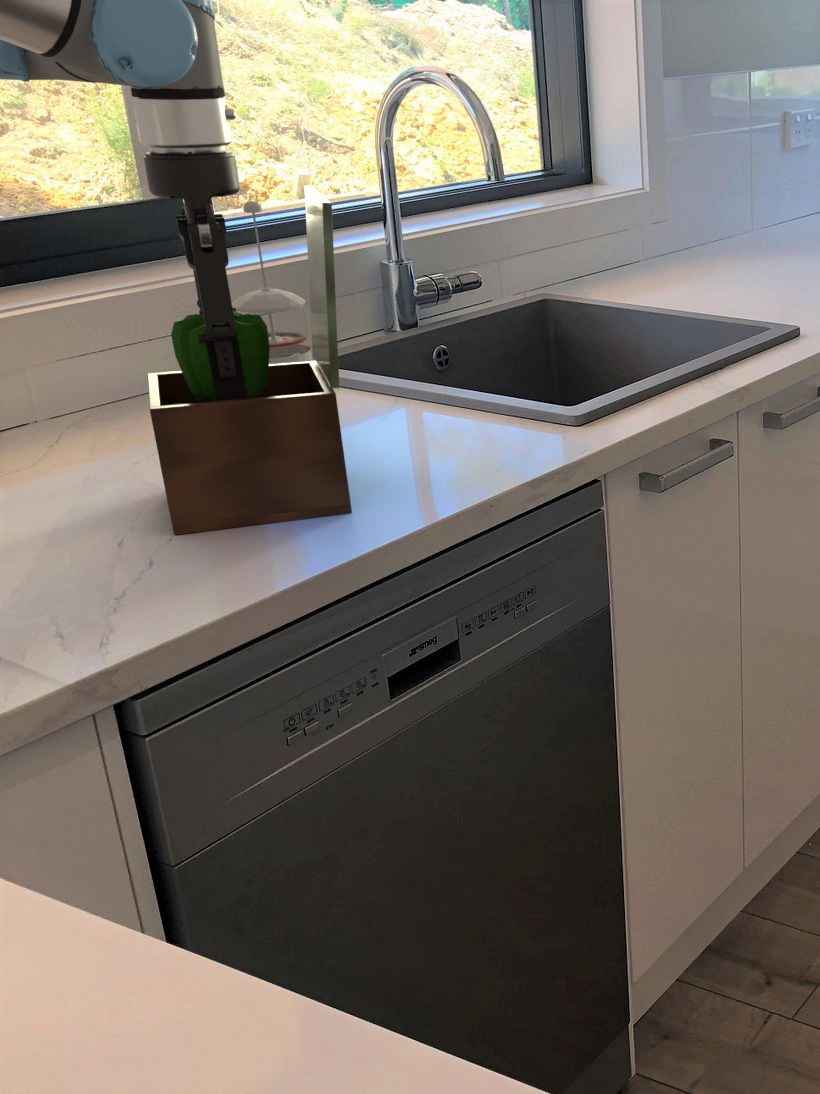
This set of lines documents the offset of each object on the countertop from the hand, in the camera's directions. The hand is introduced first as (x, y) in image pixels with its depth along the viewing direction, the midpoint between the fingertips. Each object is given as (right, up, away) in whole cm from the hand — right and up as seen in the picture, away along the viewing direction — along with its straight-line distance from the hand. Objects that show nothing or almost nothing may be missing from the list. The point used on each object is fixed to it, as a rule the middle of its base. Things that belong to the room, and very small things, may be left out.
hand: (230, 398), depth 133 cm
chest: (+1, -9, +5) cm, 11 cm away
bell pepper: (0, 0, 0) cm, 0 cm away
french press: (-9, +3, +33) cm, 34 cm away
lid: (+9, +11, 0) cm, 14 cm away
